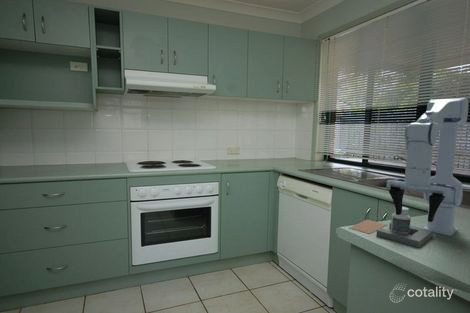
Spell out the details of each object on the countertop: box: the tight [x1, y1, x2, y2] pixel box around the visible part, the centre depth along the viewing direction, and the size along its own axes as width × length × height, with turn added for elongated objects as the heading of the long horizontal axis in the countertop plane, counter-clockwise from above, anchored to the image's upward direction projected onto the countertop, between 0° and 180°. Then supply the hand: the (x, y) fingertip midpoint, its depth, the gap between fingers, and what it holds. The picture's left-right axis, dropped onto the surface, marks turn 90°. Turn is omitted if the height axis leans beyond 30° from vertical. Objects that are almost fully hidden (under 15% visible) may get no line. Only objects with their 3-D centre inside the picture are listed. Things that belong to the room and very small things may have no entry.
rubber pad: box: [349, 219, 387, 235], centre depth 100 cm, size 14×7×1 cm, turn 132°
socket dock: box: [376, 222, 434, 248], centre depth 91 cm, size 14×12×2 cm
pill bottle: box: [390, 206, 412, 236], centre depth 92 cm, size 5×5×9 cm
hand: (414, 217), depth 78 cm, fingers open, 7 cm apart
